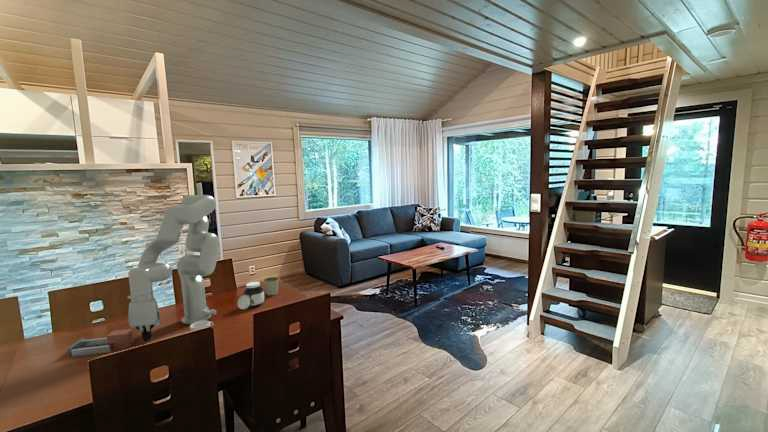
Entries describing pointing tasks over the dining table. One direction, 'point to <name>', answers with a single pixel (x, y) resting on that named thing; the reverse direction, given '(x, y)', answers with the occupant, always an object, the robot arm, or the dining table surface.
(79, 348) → the hitch channel
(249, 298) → the spread jar
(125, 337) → the lock block
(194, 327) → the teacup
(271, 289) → the flower pot
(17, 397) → the dining table surface
